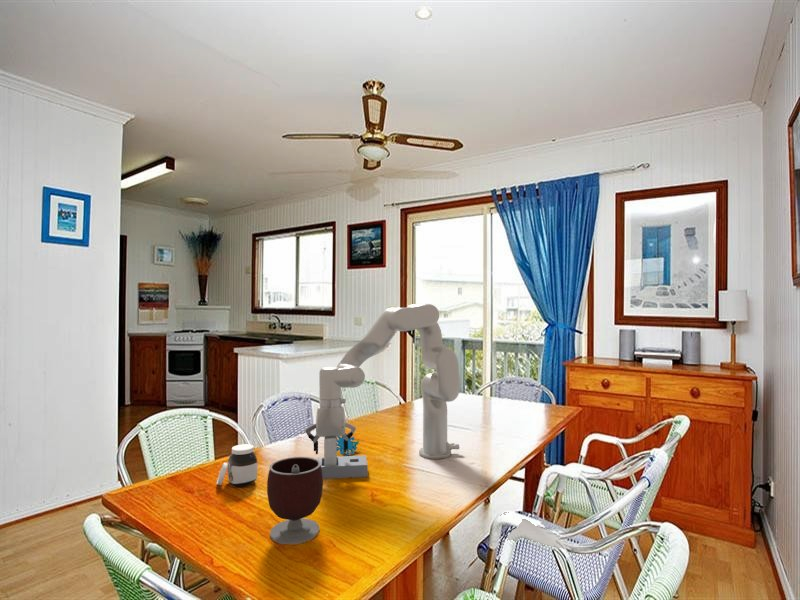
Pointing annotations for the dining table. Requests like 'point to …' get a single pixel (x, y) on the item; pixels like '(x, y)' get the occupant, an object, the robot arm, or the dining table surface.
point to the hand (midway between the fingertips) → (330, 452)
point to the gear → (350, 445)
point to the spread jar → (240, 466)
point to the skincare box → (330, 451)
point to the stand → (345, 467)
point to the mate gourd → (294, 498)
